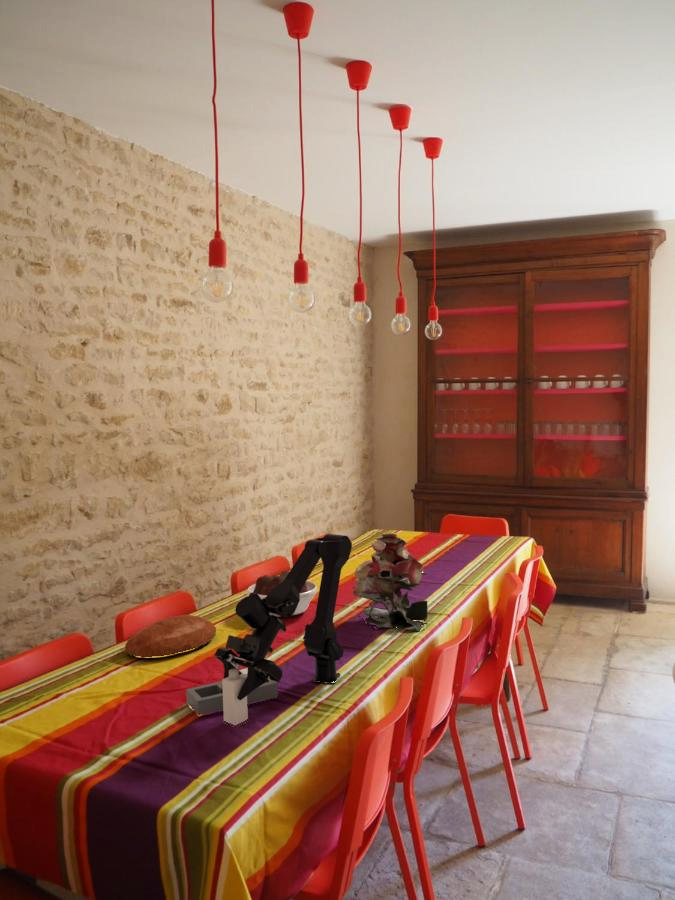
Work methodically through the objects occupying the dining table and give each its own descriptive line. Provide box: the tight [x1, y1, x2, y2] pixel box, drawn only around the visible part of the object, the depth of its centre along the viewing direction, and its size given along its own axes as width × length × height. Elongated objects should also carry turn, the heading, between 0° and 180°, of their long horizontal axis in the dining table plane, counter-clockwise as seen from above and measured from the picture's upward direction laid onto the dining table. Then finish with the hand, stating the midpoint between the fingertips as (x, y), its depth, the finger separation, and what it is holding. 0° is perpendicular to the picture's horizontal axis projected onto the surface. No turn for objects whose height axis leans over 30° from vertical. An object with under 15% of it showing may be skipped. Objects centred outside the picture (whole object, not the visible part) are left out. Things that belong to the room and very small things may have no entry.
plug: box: [221, 668, 249, 725], centre depth 174 cm, size 4×4×12 cm
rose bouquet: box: [352, 532, 429, 632], centre depth 252 cm, size 26×29×30 cm
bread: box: [124, 614, 217, 657], centre depth 232 cm, size 23×32×9 cm
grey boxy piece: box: [185, 667, 279, 715], centre depth 186 cm, size 21×9×7 cm, turn 120°
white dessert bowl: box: [246, 570, 318, 618], centre depth 264 cm, size 25×25×15 cm
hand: (230, 696), depth 173 cm, fingers open, 5 cm apart
